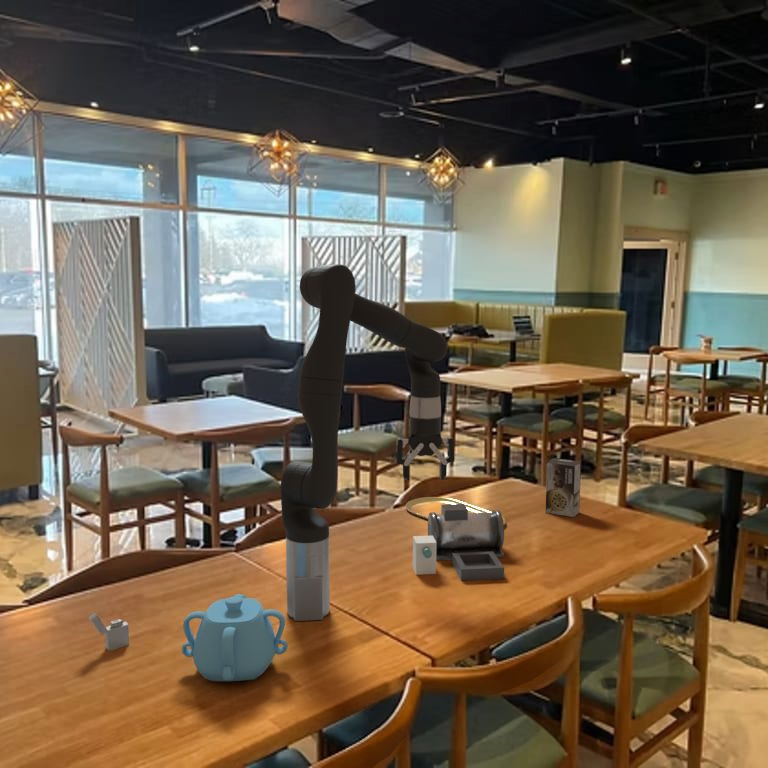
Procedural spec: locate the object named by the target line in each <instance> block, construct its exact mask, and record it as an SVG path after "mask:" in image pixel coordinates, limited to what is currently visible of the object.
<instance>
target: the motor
mask: <svg viewBox="0 0 768 768" xmlns="http://www.w3.org/2000/svg"><path fill="white" fill-rule="evenodd" d="M440 509H441V511H440V512H441V513H436V512H429V513H428V516H427V517H428V520H427V536H433V537H434V539H435V541H436V561H452V553H468V552H492V551H493V552H494V554H495V555H496V557H497V558H498V559H499V558H504V557H505V553H504V551H503V550H502V548H503V546H504V543H505V524H503V518H504V517H503V515H502V512H501V511H500V510H498V509H495V510H492V511H490V512H488V513H476V512H469V510H468V509H467V508H466V507H465V505H464V504H449V503H445V504H441V508H440ZM502 517H503V518H502Z"/></svg>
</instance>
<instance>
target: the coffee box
mask: <svg viewBox="0 0 768 768" xmlns="http://www.w3.org/2000/svg"><path fill="white" fill-rule="evenodd" d="M581 473H582V461H579V460H572V459H566V458H565V459H564V458H563V459H562V458H556V457H553V458H551V459H550V460H549V461H548V462H546V477H545V478H546V481H545V482H546V488H545V490H546V491H545V513H547V514H553V515H559V516H565V517H569V518H570V517H571V518H574V517H576V515H578V514H579V513H580V508H581V507H580V501H581V500H580V499H581V477H582V476H581Z"/></svg>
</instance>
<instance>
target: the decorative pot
mask: <svg viewBox="0 0 768 768" xmlns="http://www.w3.org/2000/svg"><path fill="white" fill-rule="evenodd" d="M270 617H275V618H277V619H278V622H279V624H278V625H279V626H278V629H277V631H276V634H275V632H274V627H273V625H272V622H271V620H270V619H269V618H270ZM194 619H200V620H201V621H200V624H199V626H198V629H197V631H196V635H195V637H194V635H193V632H192V629H191V627H190V621H192V620H194ZM182 627H183V632H184V635H185V637H186V640H187V641H186V642H184V644H183V645H182V646H181V652H182V654H183V655H184V656H185V657H187V658H192V659H193V663H194V666H195V668H196V670H197V671H198V672H199V674H200V675H201V676H202V677H204V678H205V679H206V680H209V681H211V682H240V681H254V680H256V679H258V678H259V676H261V675H263V673H265V671H266V670H267V668H268V667H270V665H271V663H272V661H273V659H274V657H275V655H283V654H284V653H286V652H287V650H288V648H289V645H288V642H287V640H285V639H282V635H283V633H284V630H285V627H286V619H285V616H284V615H283V613H282V612H280V611H279V610H276V609H265V608H264V606H263V605H262V603H261V602H260V601H259V600H257V599H256V598H251V597H246V595H244V594H241V593H238V594H235V595H234V596H231V597H227V598H223V599H222V598H221V599H218V600H216V601H214V602H212V604H211V605H209V607H208V608H207V610H206V611H205V612H204V611H201V610H199V611H197V610H196V611H193V612H191V613H189V614H188V615H187V616H186V617H185V619H184V620H183V624H182ZM279 645H282V646H281V647H279ZM188 647H189V648H190V649H188Z"/></svg>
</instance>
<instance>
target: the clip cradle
mask: <svg viewBox="0 0 768 768" xmlns="http://www.w3.org/2000/svg"><path fill="white" fill-rule="evenodd" d="M451 564H452V566H453V569H454V571H455V572H456V573H457V576H458V578H459V579H460V581H461V582H462V581H481V580H504V579H505V566H504V565H503V564H502V562H501V561H500V560H499V558H497V557H496V555H495V554H494V552H493V551H492V552H468V553H452V560H451Z"/></svg>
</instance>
